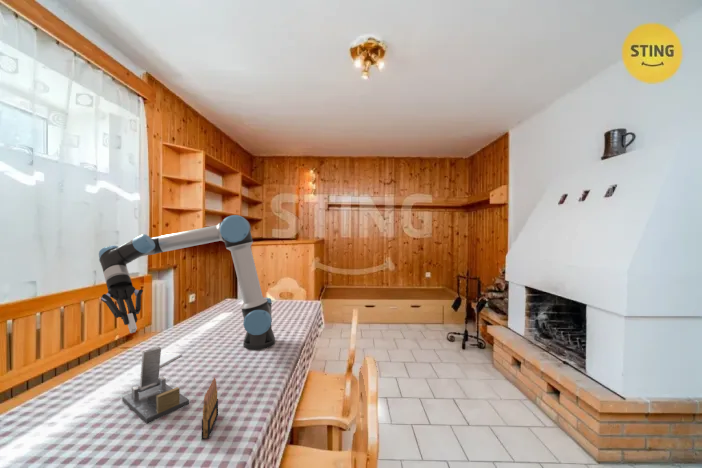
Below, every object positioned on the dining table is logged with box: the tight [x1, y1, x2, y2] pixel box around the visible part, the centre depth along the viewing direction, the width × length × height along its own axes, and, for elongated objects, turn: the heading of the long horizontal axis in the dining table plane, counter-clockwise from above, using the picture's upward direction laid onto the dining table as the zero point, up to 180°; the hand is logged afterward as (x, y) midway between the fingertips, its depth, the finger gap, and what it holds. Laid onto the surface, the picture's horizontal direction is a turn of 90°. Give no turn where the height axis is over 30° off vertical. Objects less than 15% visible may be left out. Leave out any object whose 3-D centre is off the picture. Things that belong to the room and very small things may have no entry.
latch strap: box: [137, 346, 162, 393], centre depth 98 cm, size 2×6×14 cm, turn 145°
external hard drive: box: [160, 352, 182, 368], centre depth 127 cm, size 2×8×12 cm
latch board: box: [121, 376, 190, 425], centre depth 95 cm, size 20×12×6 cm, turn 55°
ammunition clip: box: [201, 377, 219, 440], centre depth 84 cm, size 11×2×12 cm, turn 12°
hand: (133, 330), depth 104 cm, fingers closed
